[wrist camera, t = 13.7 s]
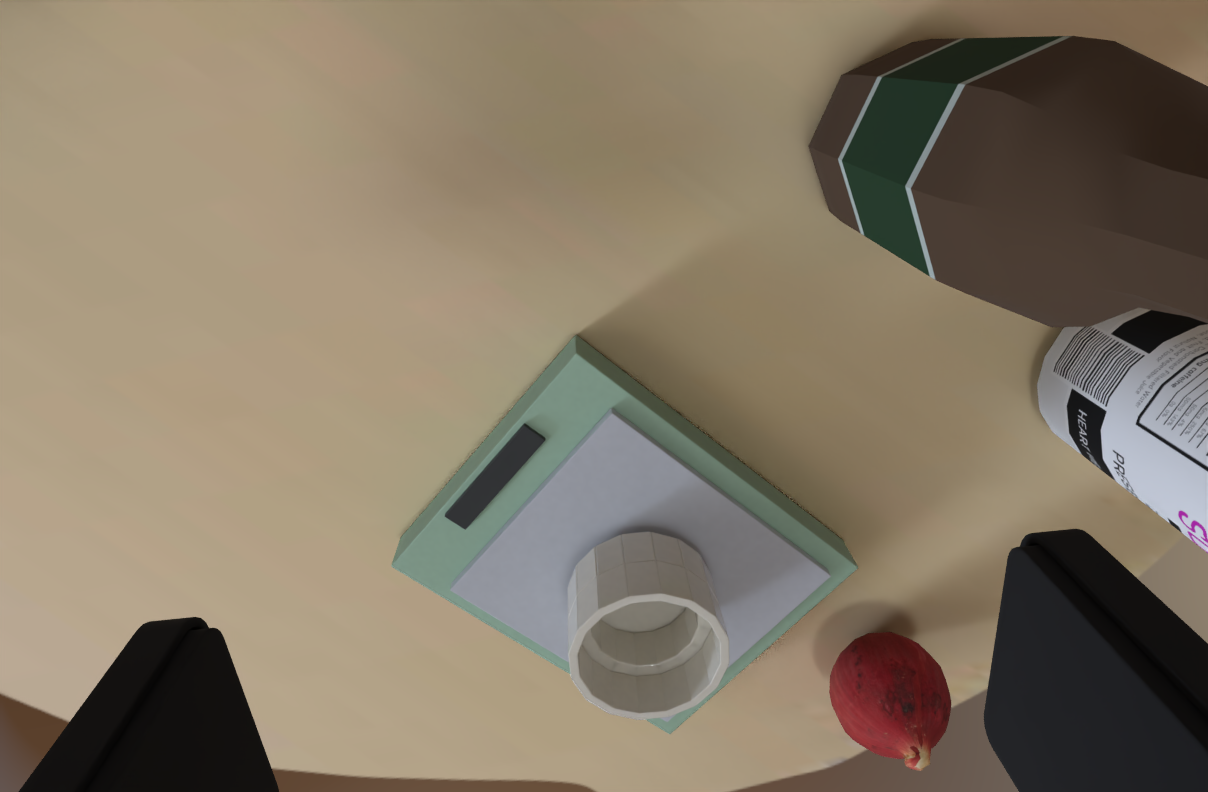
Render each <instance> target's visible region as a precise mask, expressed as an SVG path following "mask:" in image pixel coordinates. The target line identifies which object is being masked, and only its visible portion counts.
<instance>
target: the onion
mask: <svg viewBox="0 0 1208 792" xmlns="http://www.w3.org/2000/svg"><path fill="white" fill-rule="evenodd" d="M829 693H830V698H831V703H832V706H833V708H834V710H835V713H836V715H837V717H838V719H839V721H840V723H841V725H842V727H843V728H844V730H845V732H846V733H847V734H848V735H849V736H850V737H851V738H852V739H853V740H854V741H856V742H857V743H859V744H860V745H862V746H863V747H865V748H867V749H869V750H870V751H872V752H874V753H876V754H879V755H881V756H885V757H890V758H897V759H905V765H906V766H908V767H909V768H911V769H914V770H920V771H922V770H923V769H924V768H925V767H926V766H927V765H929V764H930V753H931V748H933V747H934V746H936V744H937V743H938V742H939V740H940V739H941V737H942V736H943V734H944V733H945V731H946V728H947V725H948V721H949V716H950V711H951V699H950V693H949V689H948V686H947V682H946V679H945V676H944V674H943V672H942V669H941V667H940V665H939V664H938V663H937V662H936V661H935V660H934V659H933V658H932V656H931V655H930V654H929V653H928V652H927V651H926V650H925V649H923V648H922V647H921V646H920V645H919V644H918V643H916V642H914V641H912V640H910V639H908V638H906V637H903V636H900V635H898V634H895V633H892V632H883V633H868V634H866V635H864V636H861V637H859V638H857V639H855V640H854V641H853V642H852V643H851V644H850V645H848V646H847V647H846V648H845V649H844V650H843V651H842V652H841V653H840V655H839V657H838V659H837V661H836V663H835V665H834V667H833V670H832V672H831V675H830V691H829Z"/></svg>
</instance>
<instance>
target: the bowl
mask: <svg viewBox="0 0 1208 792" xmlns="http://www.w3.org/2000/svg"><path fill="white" fill-rule="evenodd" d="M568 658H569V666H570V675H571V679H572V680H573V682H574V683H575V685H576V686H577V688H578V689H579V691H580V692H581V693H582V695H583V696H584V698H585V699H586V700H587V701H589V702H591V703H592V704H594V705H596V706H597V707H599V708H600V709H602V710H604V711H605V712H607V713H610V714H612V715H617V716H622V717H627V718H631V719H636V720H638V719H639V720H643V719H654V718H664V717H668V716H669V717H670V716H673V715H675V714H677V713H680V712H682V711H685V710H687V709H690V708H692V707H695V706H696V705H698V704H699V703H700V702H701V701H702V700H704V699H705V698H706V697H707V696H708V695H709V694H711V693H712V692H713V691H714V690H715V689H716V688H717V687H718V686H719V684H720V682H721V680H722V678H723V676H724V674H725V672H726V670H727V668H728V666H729V638H728V634H727V630H726V627H725V623H724V620H723V616H722V613H721V609H720V605H719V602H718V598H717V595H716V591H715V588H714V584H713V581H712V577H711V574H710V572H709V570H708V568H707V567H706V565H705V563H704V561H703V559H702V557H701V556H700V555H699V553H698V552H696V551H695V550H694V549H692V548H691V547H690V546H688V545H687V544H685V543H684V542H683V541H681V540H680V539H677V538H674V537H670V536H666V535H662V534H658V533H654V532H649V531H648V532H637V533H626V534H622V535H618V536H616V537H614V538H612V539H609V540H607V541H605V542H603V543H601V544H598V545H597V546H596V547H594V548H593V549H592V550H591V551H590V552H589V553H588V554H587V555H586V556H585V557H584V558H583V559H582V560H581V561H580V562H579V563H578V564H577V565H576V567H575V569H574V572H573V574H572V577H571V580H570V582H569V585H568Z"/></svg>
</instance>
